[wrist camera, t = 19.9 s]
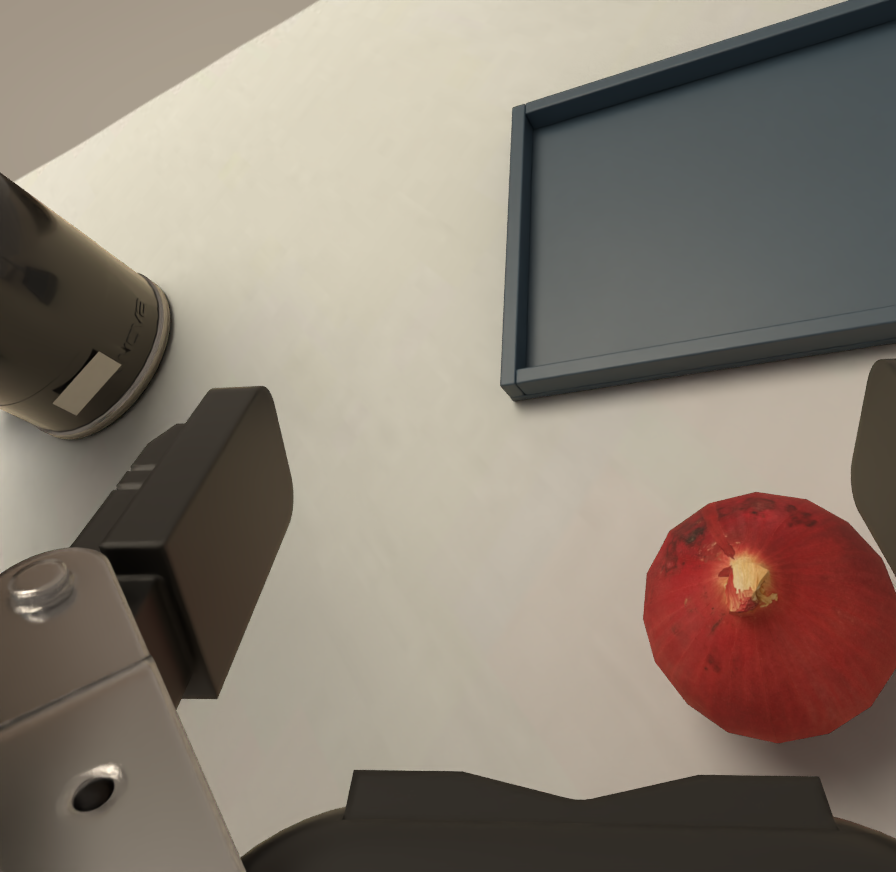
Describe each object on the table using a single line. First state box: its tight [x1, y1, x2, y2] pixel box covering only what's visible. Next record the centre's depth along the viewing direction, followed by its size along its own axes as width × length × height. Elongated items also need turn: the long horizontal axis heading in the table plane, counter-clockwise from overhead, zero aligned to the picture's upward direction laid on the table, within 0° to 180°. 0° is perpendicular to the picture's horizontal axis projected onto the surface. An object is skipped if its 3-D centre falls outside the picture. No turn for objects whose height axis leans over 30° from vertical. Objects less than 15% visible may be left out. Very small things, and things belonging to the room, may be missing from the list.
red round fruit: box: [643, 492, 896, 743], centre depth 20 cm, size 6×6×8 cm
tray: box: [500, 0, 896, 401], centre depth 28 cm, size 17×13×1 cm
